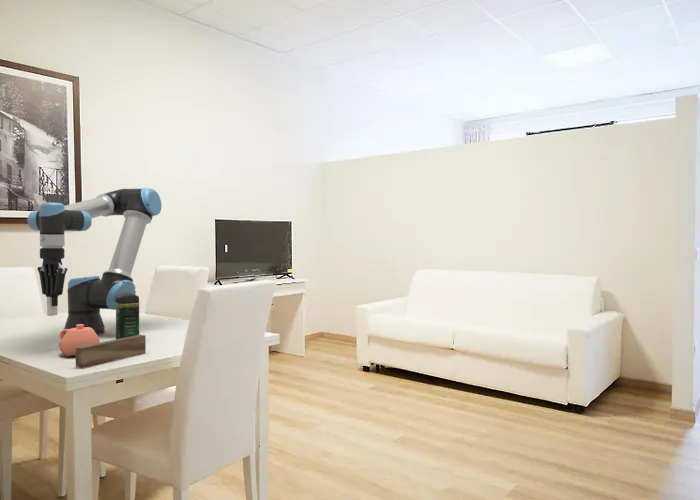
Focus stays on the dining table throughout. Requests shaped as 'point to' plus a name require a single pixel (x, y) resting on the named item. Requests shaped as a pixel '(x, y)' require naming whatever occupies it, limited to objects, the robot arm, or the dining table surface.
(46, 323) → the dining table surface
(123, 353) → the board
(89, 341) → the sugar bowl
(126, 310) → the coffee jar
